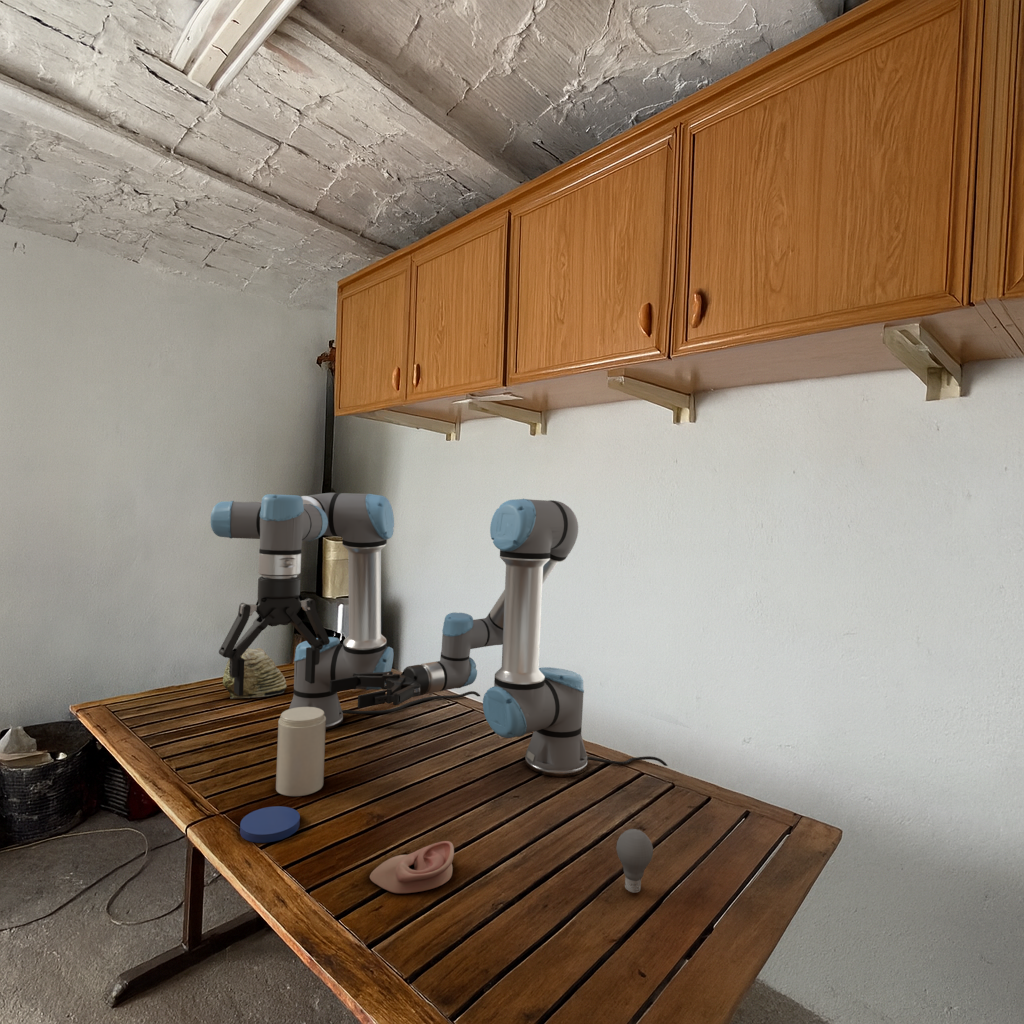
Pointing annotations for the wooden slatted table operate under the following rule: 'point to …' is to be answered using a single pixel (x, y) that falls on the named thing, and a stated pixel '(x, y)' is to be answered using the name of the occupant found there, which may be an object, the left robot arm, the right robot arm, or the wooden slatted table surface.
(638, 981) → the wooden slatted table surface
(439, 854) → the anatomical model
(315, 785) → the jar
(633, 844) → the light bulb
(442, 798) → the wooden slatted table surface
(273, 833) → the lid
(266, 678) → the fossil
